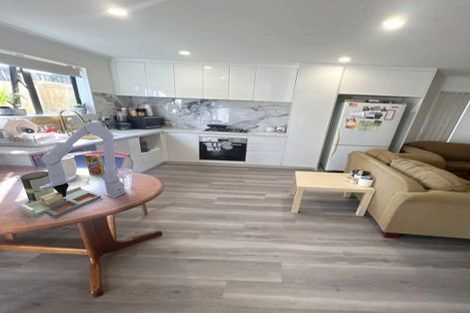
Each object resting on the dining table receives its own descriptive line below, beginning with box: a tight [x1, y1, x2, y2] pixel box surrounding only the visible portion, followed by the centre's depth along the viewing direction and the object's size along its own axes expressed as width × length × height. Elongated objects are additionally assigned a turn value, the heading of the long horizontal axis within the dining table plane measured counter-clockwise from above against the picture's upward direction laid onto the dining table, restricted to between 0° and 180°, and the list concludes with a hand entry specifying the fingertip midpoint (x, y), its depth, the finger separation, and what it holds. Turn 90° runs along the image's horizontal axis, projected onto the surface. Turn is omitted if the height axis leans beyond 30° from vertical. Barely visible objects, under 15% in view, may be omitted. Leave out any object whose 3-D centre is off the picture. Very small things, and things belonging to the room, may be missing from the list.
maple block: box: [40, 191, 64, 207], centre depth 88 cm, size 6×6×4 cm
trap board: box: [19, 185, 102, 220], centre depth 90 cm, size 20×24×4 cm
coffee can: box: [19, 170, 55, 203], centre depth 94 cm, size 10×10×14 cm
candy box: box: [84, 153, 105, 175], centre depth 127 cm, size 9×4×15 cm, turn 98°
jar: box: [61, 154, 78, 178], centre depth 121 cm, size 11×10×15 cm
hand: (63, 196), depth 93 cm, fingers closed
